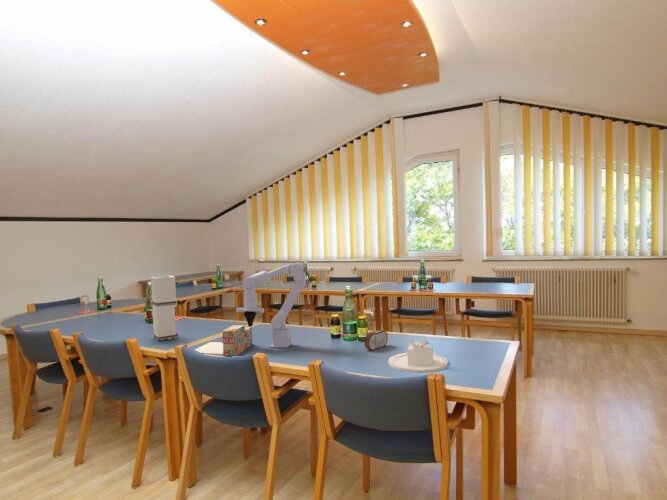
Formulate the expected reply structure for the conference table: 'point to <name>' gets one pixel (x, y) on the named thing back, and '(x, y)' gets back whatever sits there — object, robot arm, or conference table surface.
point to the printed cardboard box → (236, 339)
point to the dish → (418, 359)
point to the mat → (211, 348)
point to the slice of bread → (376, 339)
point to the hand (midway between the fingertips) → (250, 326)
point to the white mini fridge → (164, 307)
